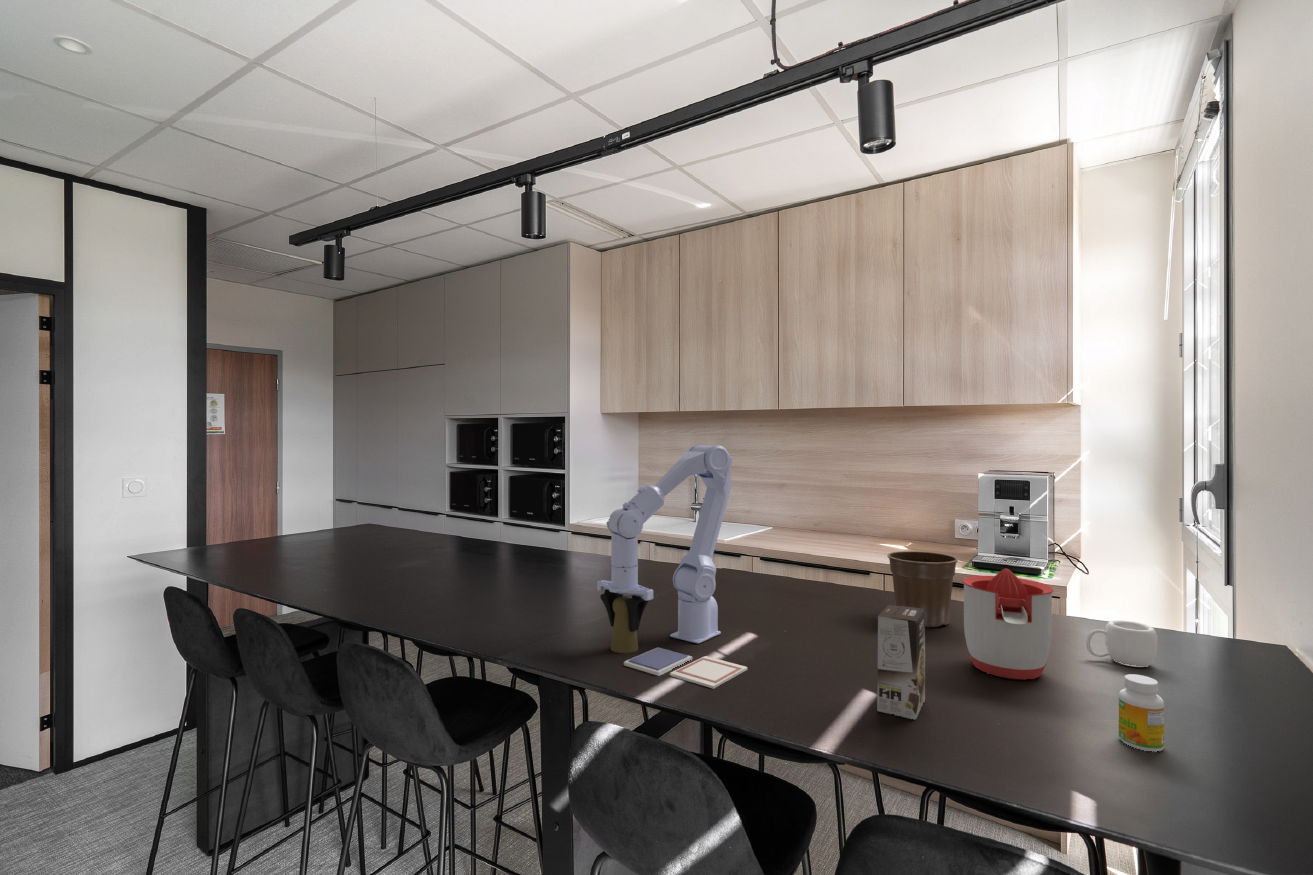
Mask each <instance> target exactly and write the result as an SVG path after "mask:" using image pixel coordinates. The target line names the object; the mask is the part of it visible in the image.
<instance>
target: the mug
mask: <svg viewBox="0 0 1313 875" xmlns="http://www.w3.org/2000/svg"><path fill="white" fill-rule="evenodd" d="M1104 629H1105V630H1104ZM1104 629H1101V628H1099V629H1093V630H1092V631H1091V630H1090V632H1089V633H1088V634H1087V637H1086V640H1085V645H1086V649H1087V651H1088V652H1089V654H1090V655H1092V656H1094V657H1097V658H1105V657H1107V656H1109V658H1111V660H1112V659H1113V660H1115V661H1117V662H1121V663H1123V664H1129V665H1136V666H1147V665H1150V666H1152V665H1153V663H1154V661H1155V659H1156V656H1157V654H1158V636H1157V632H1156V630H1155V628H1154V627H1153V626H1150V625H1147V624H1145V623H1142V622H1137V621H1131V620H1125V619H1122V620H1119V619H1115V620H1109V621H1108V622H1107V624H1106V626H1105V628H1104ZM1095 634H1103V635H1104V642H1105V646H1106V650H1107V651H1105V652H1103V653H1098V652H1095V651H1094V650H1093V649H1092V647H1091V639H1092V638H1093V636H1094V635H1095ZM1113 660H1112V661H1113Z"/></svg>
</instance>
